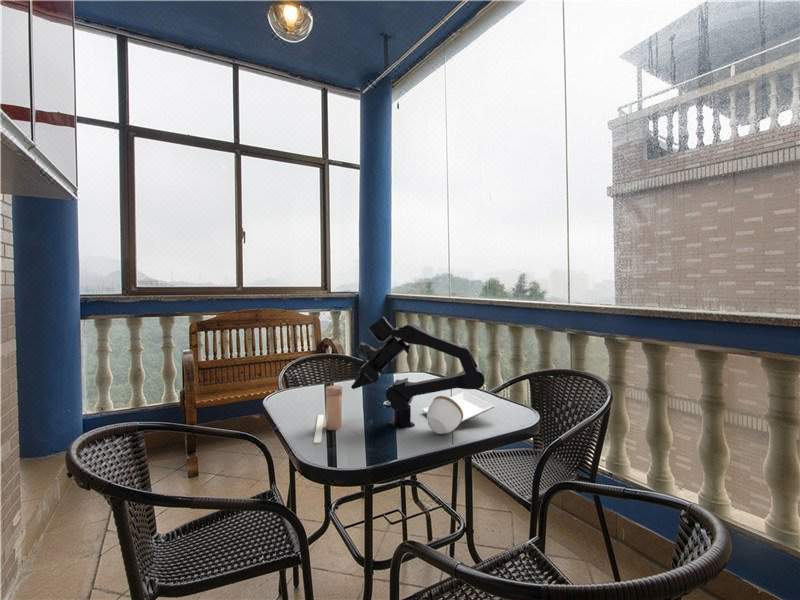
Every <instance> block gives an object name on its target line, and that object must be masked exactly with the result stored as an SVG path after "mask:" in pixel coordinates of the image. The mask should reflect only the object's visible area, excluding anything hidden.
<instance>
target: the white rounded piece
mask: <svg viewBox="0 0 800 600" xmlns="http://www.w3.org/2000/svg"><path fill="white" fill-rule="evenodd" d="M429 406H430V407H429ZM429 406H428V407H429V409H428V411H427V413H426V420H427V425H428V426H429V429H431V430H432V432H434V433H436V434H439V435H443V434H449V433H452V432H454V430H455V429H457V427H459V425H460V424H461V423H462V422H461V421H462V419H463V412H462V409H461V408H460V406H459V405H458V404H457V403H456V402H455V401H453V400H452V399H450V397H447V396H444V395H442V396H441V395H439V396H435V397H434V398H433V400H432V401H431V403H430V405H429ZM460 422H461V423H460Z"/></svg>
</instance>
